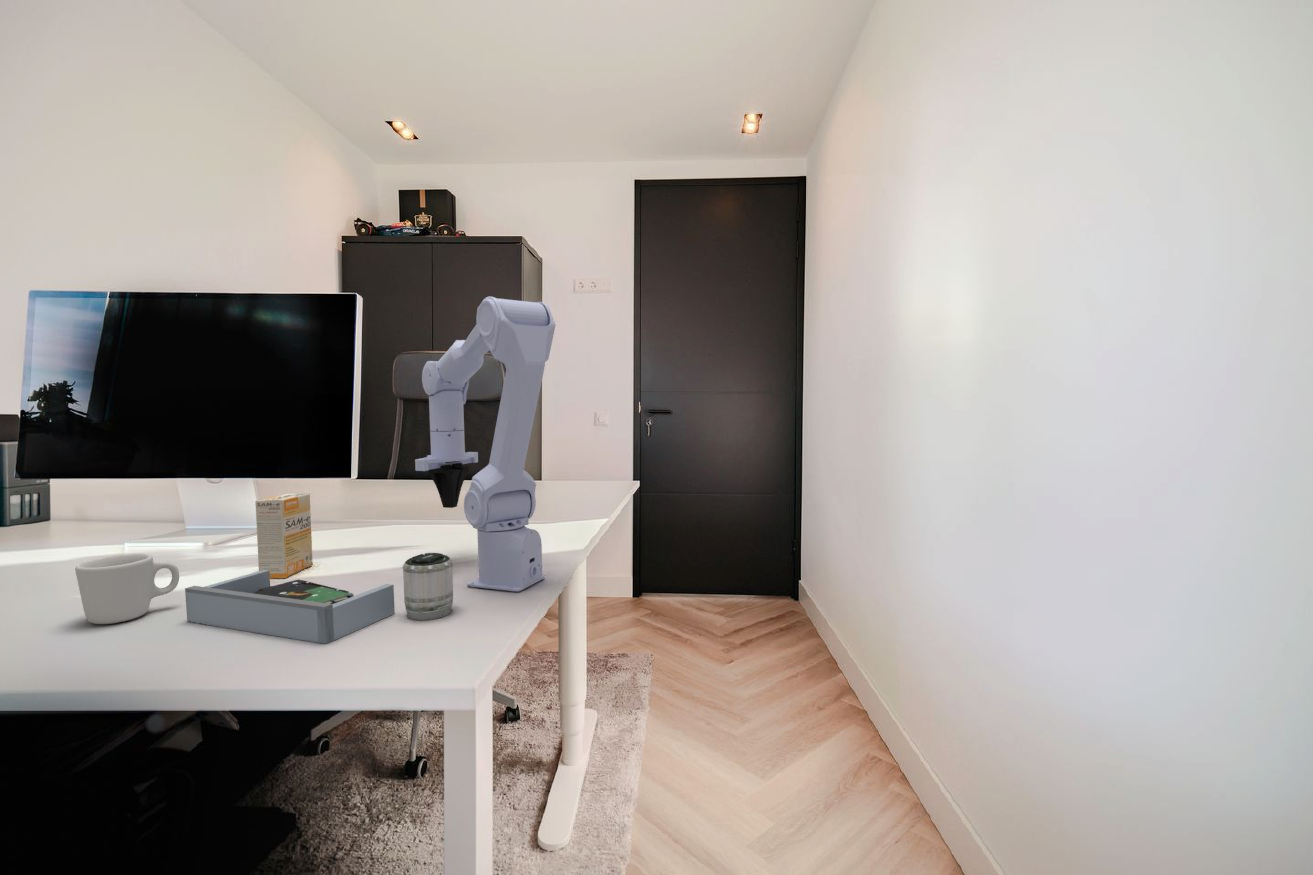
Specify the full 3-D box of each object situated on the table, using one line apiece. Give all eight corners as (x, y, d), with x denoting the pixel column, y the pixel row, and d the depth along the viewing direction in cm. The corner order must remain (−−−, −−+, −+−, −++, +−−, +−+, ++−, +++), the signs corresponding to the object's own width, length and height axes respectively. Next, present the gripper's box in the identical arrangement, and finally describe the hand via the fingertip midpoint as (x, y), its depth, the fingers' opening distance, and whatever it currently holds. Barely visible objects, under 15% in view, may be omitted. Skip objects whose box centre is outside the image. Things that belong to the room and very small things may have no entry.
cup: (176, 600, 93) (173, 546, 93) (185, 612, 88) (182, 555, 87) (77, 618, 86) (73, 560, 85) (81, 634, 80) (76, 571, 80)
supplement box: (287, 578, 104) (282, 499, 103) (257, 579, 104) (253, 500, 103) (314, 565, 112) (311, 492, 111) (287, 565, 112) (284, 492, 111)
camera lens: (394, 618, 84) (392, 560, 84) (426, 603, 90) (424, 549, 90) (433, 623, 82) (430, 563, 82) (463, 608, 88) (461, 552, 88)
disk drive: (225, 617, 88) (285, 635, 80) (223, 597, 87) (283, 613, 80) (299, 596, 97) (359, 610, 89) (298, 578, 96) (358, 590, 89)
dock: (394, 613, 86) (393, 581, 86) (325, 643, 76) (324, 607, 75) (265, 596, 95) (263, 566, 94) (187, 621, 84) (185, 588, 84)
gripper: (455, 428, 120) (457, 499, 121) (399, 432, 106) (402, 513, 107) (486, 428, 117) (488, 501, 118) (433, 433, 104) (436, 515, 105)
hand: (450, 507), depth 112 cm, fingers closed
